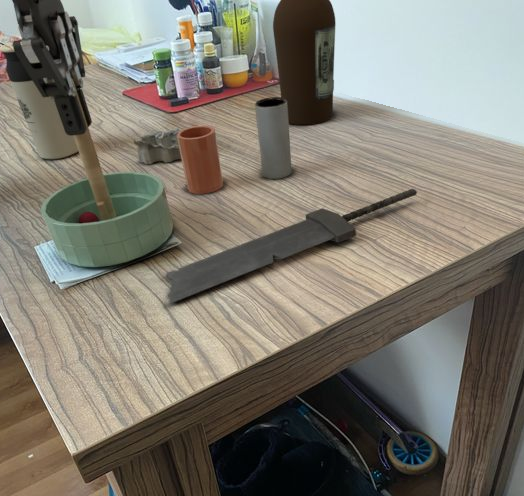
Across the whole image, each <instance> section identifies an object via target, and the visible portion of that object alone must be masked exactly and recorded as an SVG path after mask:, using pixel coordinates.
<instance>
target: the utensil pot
mask: <svg viewBox="0 0 524 496" xmlns="http://www.w3.org/2000/svg"><path fill="white" fill-rule="evenodd" d="M183 129H184V128H183ZM180 130H181V131H180V132H178V133H177V140H178V145H179V149H180V154H181V159H180V160H181V164H182V168H183V173H184V178H185V183H186V188H187V191H188V192H190V193H192V194H194V195H195V194H196V195H204V194H205V195H207V194H211V193H214V192H217V191H218V190H220V189H222V187H224V180H223V179H224V178H223V173H222V167H221V159H220V153H219V147H218V141H217V134H216V129H215V128H214V127H213V126H209V125H198V126H197V125H196V126H190V127H185V129H184V130H182V129H180Z"/></svg>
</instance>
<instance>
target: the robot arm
mask: <svg viewBox="0 0 524 496" xmlns="http://www.w3.org/2000/svg"><path fill="white" fill-rule="evenodd" d="M11 2H12V3H13V8H14V12H15V13H14V14H15V17H16V22H17V28H18V32H19V34H20V37H21V39H18V40H17V39H16V40H13V41H12V42H13V48H14V51H15V53H16V55H17V56H18V58H19V59H20V61H21V63H22V64H23V66H24V68H25V69H26V71H27V72H28V74H29V76H30V77H31V79H32V81H33V82H34V84H35V85H36V87H37V89H38V90H39V92H40V93H41V95H42V97H44V98H45V97H50V99H54V101H55V104H56V107H57V110H58V113H59V116H60V119H61V121H62V124H63V127H64V130H65V133H66V134H67V135H69V136H73V135H81V134H84V133H85V132H86V130H87V127H86V124H85V121H84V118H83V115H82V111H81V108H80V105H79V102H78V99H77V96H76V95H75V88H74V86H73V82H72V79H73V81H74V84H75V87H76V90H77V93H78V97H79V100H80V103H81V106H82V109H83V112H84V116H85V119H86V122H87V125H88V128H89V127H90V126H91V125H92V123H93V121H92V117H91V114H90V111H89V108H88V104H87V101H86V97H85V94H84V91H83V88H84V80H83V78H85V77H86V68H85V64H84V58H83V57H84V56H83V50H82V45H81V44H82V43H81V38H80V31H79V23H78V20H77V17H76V16H74V15H72V16H70V15H69V13H68V12H67V11H66V10H65V7H64V4H63V3H62V0H11ZM71 78H72V79H71ZM52 79H53V80H54V82H53V80H52Z"/></svg>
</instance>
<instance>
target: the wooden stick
mask: <svg viewBox="0 0 524 496" xmlns="http://www.w3.org/2000/svg"><path fill="white" fill-rule="evenodd" d="M71 79H72V78H71ZM72 82H73V86H74V88H75V95H76V96H77V99H78V102H79V105H80V108H81V111H82V115H83V118H84V121H85V124H86V127H87V130H86V132H85V133H84V134H81V135H73V136H74V139H75V142H76V145H77V148H78V150H79V151H78V153H79V156H80V160H81V163H82V165H83V168H84V170H85V171H84V172H85V173H86V178H88V180H89V183H90V186H91V189H92V192H93V195H94V198H95V201H96V204H97V208H98V211H99V213H100V216H101V219H102V221H104V220H109V219H113V218H116V217H117V216H116V213H115V210H114V207H113V204H112V201H111V198H110V194H109V191H108V188H107V185H106V182H105V179H104V175H103V174H104V172H103V169H102V167H101V163H100V160H99V157H98V153H97V151H96V147H95V145H94V141H93V138H92V135H91V131H90V128H89V127H88V125H87V122H86V119H85V116H84V112H83V109H82V106H81V103H80V100H79V97H78V93H77V90H76V87H75V84H74V81H73V79H72Z"/></svg>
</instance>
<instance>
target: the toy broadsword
mask: <svg viewBox="0 0 524 496" xmlns="http://www.w3.org/2000/svg"><path fill="white" fill-rule="evenodd" d="M417 194H418V191H417V190H416V189H414V188H410V189H408V190H405V191H402V192H399V193H397V194H395V195H392V196H389V197H387V198H384V199H382V200H379V201H376V202H375V203H374V202H373V203H371V204H369V205H366V206H364V207H362V208H361V207H360V208H359V209H356V210H353V211H351V212H349V213H346V214H343V215H340V214H339V213H337V212H334V211H332V210H329V209H326V208H324V207H322V208H319V209H316V210H314V211H311V212H308V213H306V214H305V219H304V220H302V221H299V222H296V223H294V224H291V225H289V226H286V227H283V228H280V229H278V230H276V231H273V232H270V233H268V234H265V235H263V236H260V237H257V238H254V239H252V240H249V241H247V242H244V243H241V244H239V245H236V246H234V247H231V248H228V249H226V250H223V251H221V252H218V253H216V254H213V255H211V256H207V257H205V258H203V259H199V260H197V261H195V262H192V263H189V264H186V265H184V266H181V267H179V268H178V269H177V270H175V269H174V270H171V271H169V272H166V273H165V275H166V277H167V279H169V280H170V281H171V287H170V291H169V292H168V294H167V298H168V299H169V302H170V303H171V304H174V303H176V302H179V301H182V300H184V299H186V298H188V297H191V296H193V295H196V294H198V293H201V292H204V291H206V290H209V289H211V288H213V287H216V286H218V285H221V284H224V283H226V282H229V281H231V280H234V279H236V278H238V277H242V276H243V275H247V274H249V273H251V272H254V271H255V270H259V269H261V268H263V267H266V266H269V265H270V264H273V263H274V259H275V260H284V259H286V258H288V257H291V256H293V255H295V254H298V253H301V252H303V251H306V250H309V249H311V248H314V247H315V246H318V245H321V244H324V243H326V242H328V241H333V242H335V243H341V242H344V241H346V240H348V239H350V238H353V237H356V235H357V234H356V233H357V231H356V230H357V229H356V227H354V226H353V225H352V224H351V223H350V221H353V220H355V219H358V218H361V217H363V216H366V215H369V214H371V213H373V212H376V211H379V210H380V209H383V208H385V207H388V206H391V205H394V204H396V203H398V202H402V201H404V200H406V199H409V198H412V197H414V196H416V195H417Z"/></svg>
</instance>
